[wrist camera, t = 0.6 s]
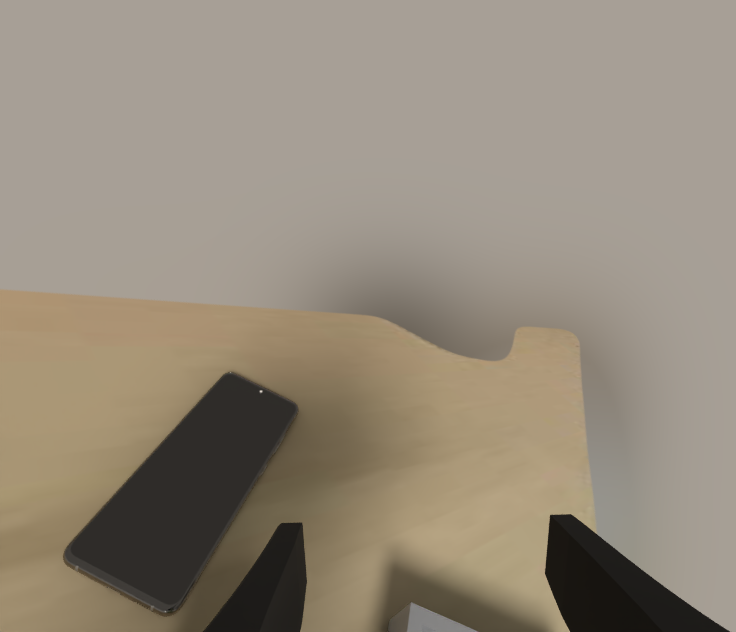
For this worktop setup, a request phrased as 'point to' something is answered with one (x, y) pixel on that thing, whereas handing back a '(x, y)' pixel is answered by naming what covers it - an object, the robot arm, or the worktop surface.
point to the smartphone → (183, 497)
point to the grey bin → (423, 621)
